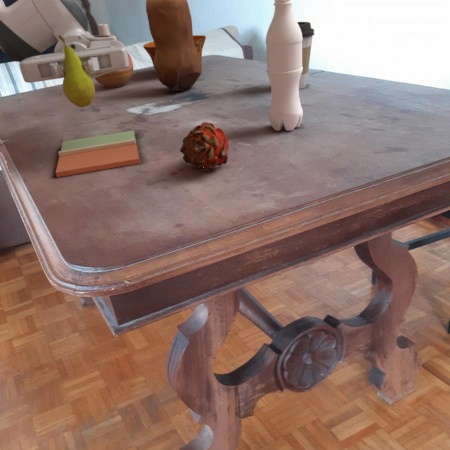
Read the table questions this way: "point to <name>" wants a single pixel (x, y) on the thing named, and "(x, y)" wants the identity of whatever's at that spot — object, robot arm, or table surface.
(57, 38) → the robot arm
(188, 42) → the butternut squash
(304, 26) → the coffee cup
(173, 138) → the table surface
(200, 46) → the bowl
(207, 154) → the dragon fruit
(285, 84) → the water bottle
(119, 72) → the vase
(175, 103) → the table surface
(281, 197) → the table surface
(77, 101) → the fruit
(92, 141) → the sorting board
